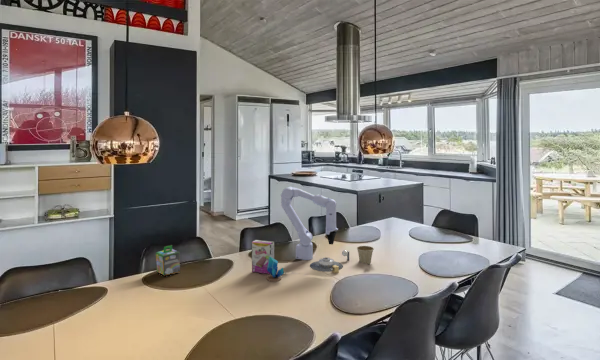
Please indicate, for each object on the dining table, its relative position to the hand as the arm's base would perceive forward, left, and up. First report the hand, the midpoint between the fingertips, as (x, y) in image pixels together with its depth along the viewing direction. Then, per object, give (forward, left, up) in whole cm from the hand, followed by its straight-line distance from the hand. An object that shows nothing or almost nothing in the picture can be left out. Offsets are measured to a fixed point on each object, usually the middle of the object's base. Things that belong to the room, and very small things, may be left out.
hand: (331, 244), depth 210 cm
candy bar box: (-28, -30, -10) cm, 42 cm away
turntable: (+2, -13, -9) cm, 16 cm away
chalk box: (-74, -49, -10) cm, 89 cm away
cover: (+1, -12, -9) cm, 15 cm away
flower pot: (+19, +3, -10) cm, 22 cm away
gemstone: (-18, -37, -10) cm, 42 cm away
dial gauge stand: (+10, +2, -10) cm, 14 cm away
